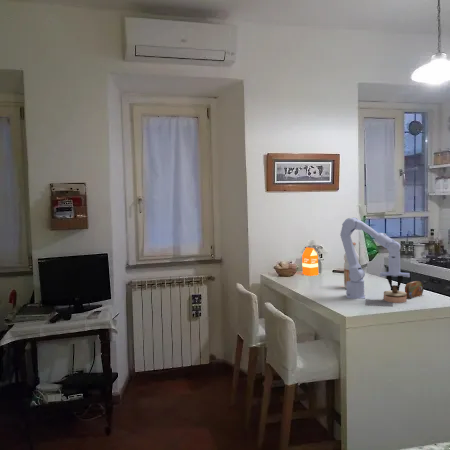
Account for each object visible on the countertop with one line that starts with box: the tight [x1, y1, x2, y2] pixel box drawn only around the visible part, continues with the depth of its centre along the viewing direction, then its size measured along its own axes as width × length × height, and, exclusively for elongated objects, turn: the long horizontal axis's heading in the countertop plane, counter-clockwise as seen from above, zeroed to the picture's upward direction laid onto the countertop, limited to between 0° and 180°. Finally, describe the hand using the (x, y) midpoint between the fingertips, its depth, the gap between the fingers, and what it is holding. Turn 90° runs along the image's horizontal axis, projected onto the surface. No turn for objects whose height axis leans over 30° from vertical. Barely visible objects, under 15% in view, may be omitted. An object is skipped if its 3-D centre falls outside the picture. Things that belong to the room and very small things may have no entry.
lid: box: [383, 284, 406, 296], centre depth 212 cm, size 11×11×4 cm
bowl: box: [383, 293, 408, 304], centre depth 213 cm, size 11×11×3 cm
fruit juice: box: [343, 241, 361, 290], centre depth 246 cm, size 9×9×28 cm
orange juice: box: [301, 247, 319, 277], centre depth 299 cm, size 8×9×20 cm
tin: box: [404, 280, 424, 299], centre depth 219 cm, size 15×3×8 cm, turn 126°
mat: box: [365, 298, 394, 308], centre depth 208 cm, size 13×13×1 cm
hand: (394, 290), depth 213 cm, fingers closed on lid, 2 cm apart
